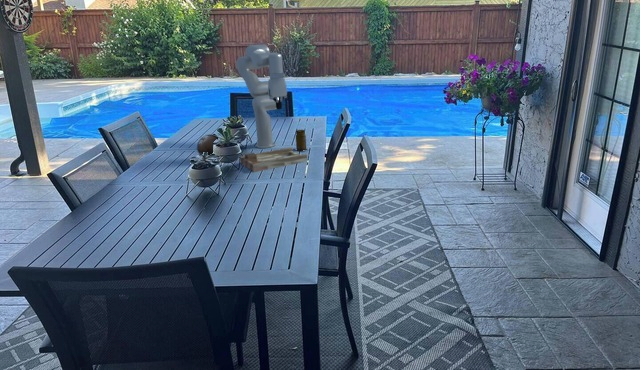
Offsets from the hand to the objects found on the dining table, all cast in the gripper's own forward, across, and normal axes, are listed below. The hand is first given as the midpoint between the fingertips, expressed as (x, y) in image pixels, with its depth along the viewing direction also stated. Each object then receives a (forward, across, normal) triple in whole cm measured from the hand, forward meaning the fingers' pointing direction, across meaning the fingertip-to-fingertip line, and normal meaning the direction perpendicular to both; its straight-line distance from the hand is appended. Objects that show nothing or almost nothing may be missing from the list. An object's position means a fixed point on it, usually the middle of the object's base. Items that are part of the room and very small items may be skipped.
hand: (279, 108), depth 276 cm
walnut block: (+25, +23, +8) cm, 35 cm away
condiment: (+27, -14, -2) cm, 31 cm away
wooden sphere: (+27, +38, -16) cm, 49 cm away
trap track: (+27, +11, +12) cm, 32 cm away
